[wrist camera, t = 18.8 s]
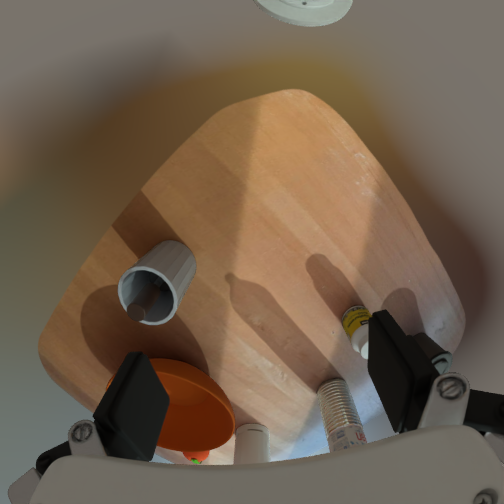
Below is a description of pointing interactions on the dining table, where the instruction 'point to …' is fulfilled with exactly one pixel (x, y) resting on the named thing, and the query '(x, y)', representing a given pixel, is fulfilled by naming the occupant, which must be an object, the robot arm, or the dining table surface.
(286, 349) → the dining table surface
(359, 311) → the supplement bottle
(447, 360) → the coffee cup
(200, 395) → the bowl
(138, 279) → the grey utensil holder
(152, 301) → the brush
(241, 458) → the bottle
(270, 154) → the dining table surface
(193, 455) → the clementine
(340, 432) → the water bottle
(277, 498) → the robot arm
